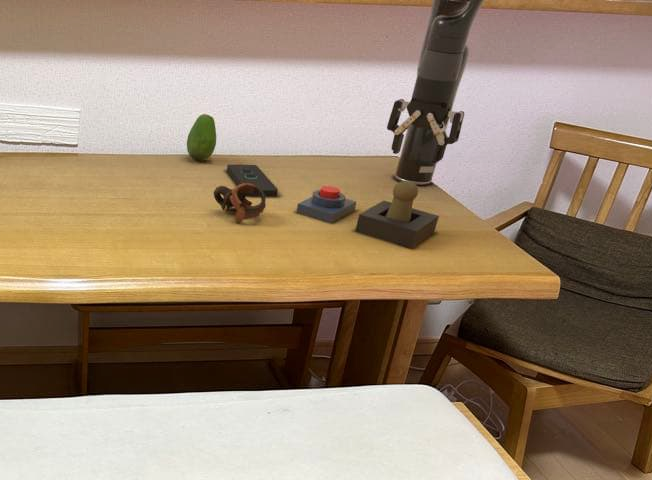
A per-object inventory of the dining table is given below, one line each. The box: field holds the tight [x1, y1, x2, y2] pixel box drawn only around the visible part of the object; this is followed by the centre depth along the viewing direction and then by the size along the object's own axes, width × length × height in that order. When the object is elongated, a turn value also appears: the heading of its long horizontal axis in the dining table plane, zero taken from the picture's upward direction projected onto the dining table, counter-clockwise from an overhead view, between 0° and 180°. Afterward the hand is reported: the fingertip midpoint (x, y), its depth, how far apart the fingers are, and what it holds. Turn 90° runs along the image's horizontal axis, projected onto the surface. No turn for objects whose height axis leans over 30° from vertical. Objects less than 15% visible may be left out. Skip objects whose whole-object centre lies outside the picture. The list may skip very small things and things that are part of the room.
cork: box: [386, 181, 419, 223], centre depth 164 cm, size 6×6×11 cm
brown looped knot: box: [213, 183, 267, 224], centre depth 168 cm, size 12×9×8 cm
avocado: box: [186, 113, 217, 162], centre depth 200 cm, size 8×8×12 cm
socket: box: [354, 200, 440, 249], centre depth 166 cm, size 13×13×4 cm
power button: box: [319, 185, 341, 199], centre depth 173 cm, size 4×4×2 cm
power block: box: [295, 189, 357, 224], centre depth 174 cm, size 12×9×4 cm
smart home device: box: [226, 163, 279, 198], centre depth 189 cm, size 8×2×20 cm
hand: (415, 157), depth 157 cm, fingers open, 8 cm apart
